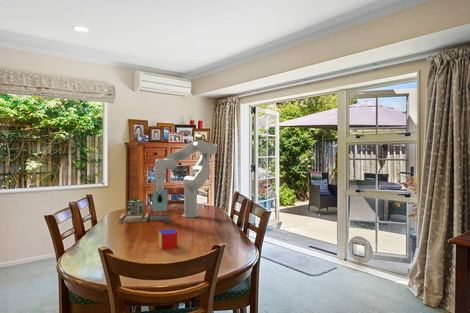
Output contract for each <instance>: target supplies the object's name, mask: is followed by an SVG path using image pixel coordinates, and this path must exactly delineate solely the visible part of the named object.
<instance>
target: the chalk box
mask: <svg viewBox="0 0 470 313" xmlns="http://www.w3.org/2000/svg"><path fill="white" fill-rule="evenodd" d="M131 198H132V200H128V201H126V215H139V214H145V213H144V210H145V209H144V207H145V206H144V200H141V199H140V200H139V199H137V196H132V197H131Z"/></svg>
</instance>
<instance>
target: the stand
mask: <svg viewBox="0 0 470 313" xmlns="http://www.w3.org/2000/svg"><path fill="white" fill-rule="evenodd" d="M149 221H150V222H151V221H152V222H153V221H154V222H155V221H157V222H158V221H163V223H171V214H151V215H149Z"/></svg>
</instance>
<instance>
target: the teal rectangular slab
mask: <svg viewBox="0 0 470 313" xmlns="http://www.w3.org/2000/svg"><path fill="white" fill-rule="evenodd" d="M152 211H153V212H159V211H160V212H164V211H168V188H166V189H163V192H162V203H158V192H157V193H156V188H155V189H153V188H152Z"/></svg>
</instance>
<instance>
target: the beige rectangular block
mask: <svg viewBox="0 0 470 313" xmlns="http://www.w3.org/2000/svg"><path fill="white" fill-rule="evenodd" d="M142 221H143V218H142V216H127V217H126V219H124V222H127V223H143V222H142Z"/></svg>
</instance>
